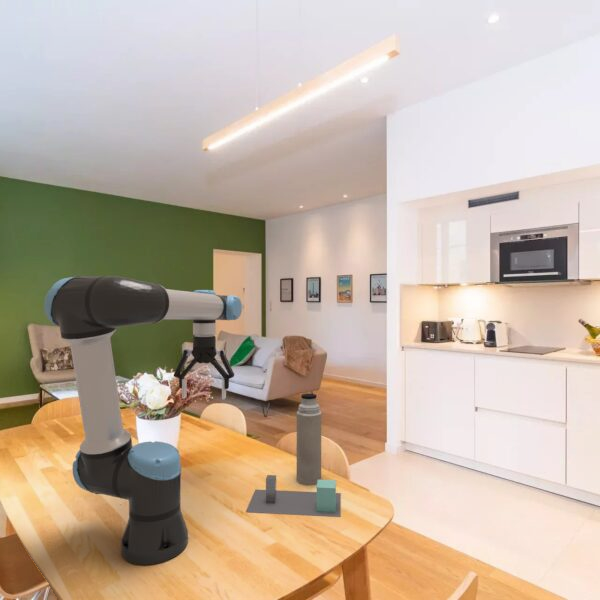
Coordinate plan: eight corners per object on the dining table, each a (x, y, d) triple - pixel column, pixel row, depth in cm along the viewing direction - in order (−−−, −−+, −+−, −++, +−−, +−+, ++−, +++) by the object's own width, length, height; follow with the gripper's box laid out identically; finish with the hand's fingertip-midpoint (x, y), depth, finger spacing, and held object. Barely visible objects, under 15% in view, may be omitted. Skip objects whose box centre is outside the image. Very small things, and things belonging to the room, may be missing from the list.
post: (274, 503, 123) (274, 479, 123) (265, 503, 123) (265, 478, 123) (276, 499, 125) (276, 475, 125) (267, 498, 125) (267, 474, 125)
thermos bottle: (307, 474, 144) (308, 390, 144) (326, 481, 139) (326, 394, 138) (291, 481, 138) (291, 394, 138) (309, 489, 133) (310, 398, 133)
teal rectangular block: (335, 512, 118) (335, 488, 118) (316, 511, 118) (316, 487, 118) (335, 503, 123) (335, 480, 123) (317, 502, 123) (317, 479, 123)
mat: (340, 518, 115) (340, 517, 115) (245, 513, 118) (245, 512, 118) (340, 494, 129) (340, 493, 129) (255, 490, 132) (255, 489, 132)
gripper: (242, 335, 149) (242, 396, 148) (172, 334, 150) (171, 395, 150) (238, 336, 141) (238, 401, 141) (164, 336, 142) (163, 400, 142)
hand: (204, 398), depth 145 cm, fingers open, 13 cm apart
